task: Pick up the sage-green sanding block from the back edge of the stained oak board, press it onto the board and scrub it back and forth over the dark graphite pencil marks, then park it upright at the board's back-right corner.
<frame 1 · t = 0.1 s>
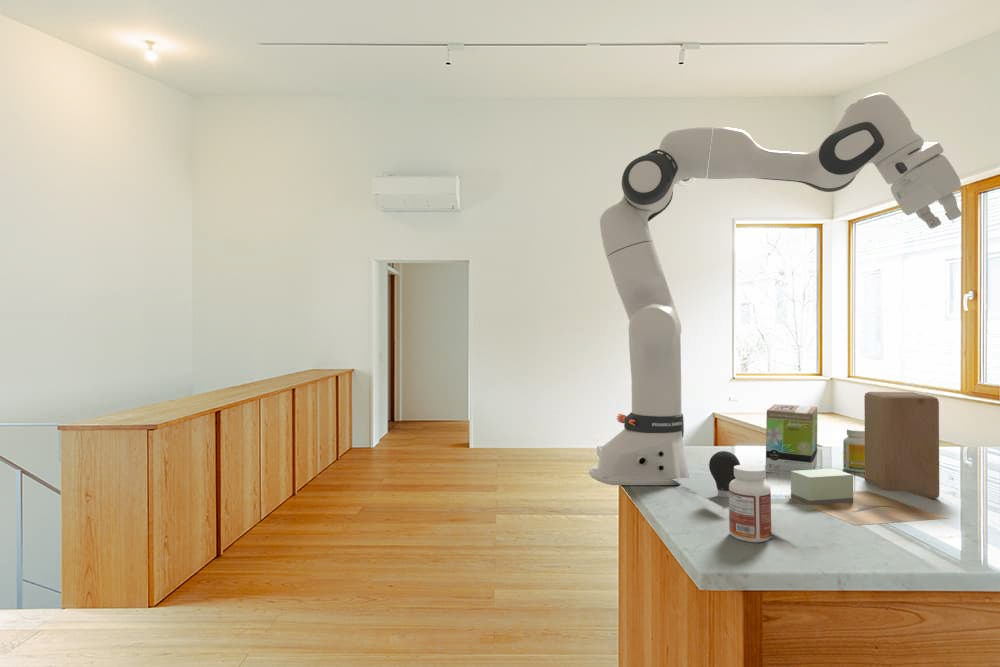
hand: (946, 222, 114), 54 cm above the table, tool tilted 30°, fingers open, 8 cm apart
oak board: (861, 514, 103), on the table
pill bottle: (750, 537, 92), on the table
supplement bottle: (856, 471, 136), on the table
light bulb: (724, 504, 110), on the table
wooden block: (900, 493, 117), on the table
tea box: (792, 470, 137), on the table
sanding block: (821, 499, 107), point 1 cm above the table, touching oak board
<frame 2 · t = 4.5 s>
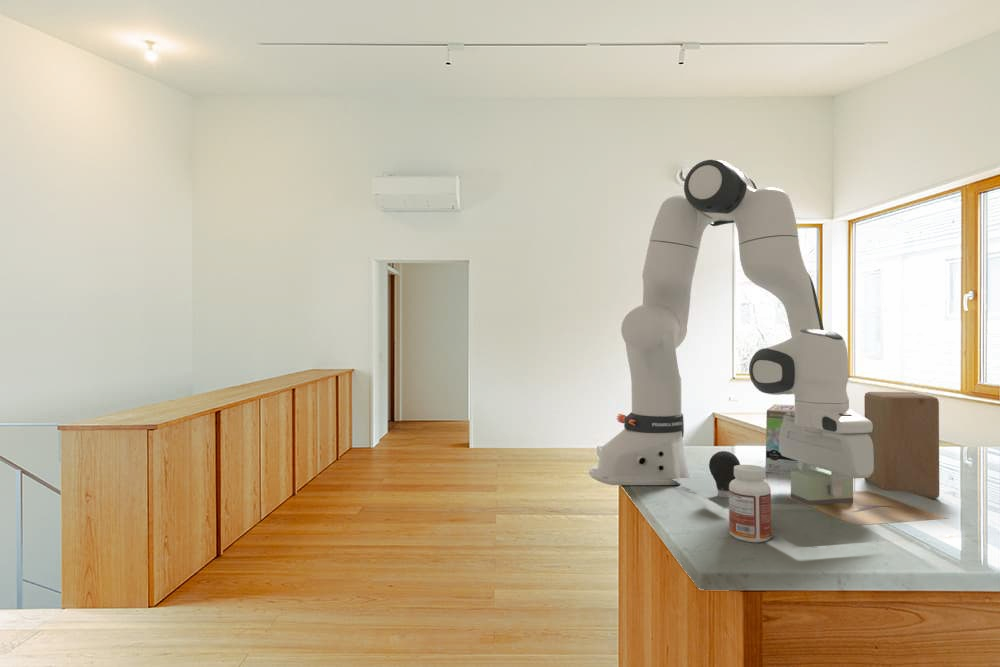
hand: (821, 490, 107), 3 cm above the table, tool pointing down, fingers closed on sanding block, 5 cm apart
sanding block: (821, 499, 107), point 1 cm above the table, touching gripper, oak board
everything else where it was.
when the fingers open (4 cm above the table, at t = 18.1 s): sanding block drops 1 cm, resting on oak board.
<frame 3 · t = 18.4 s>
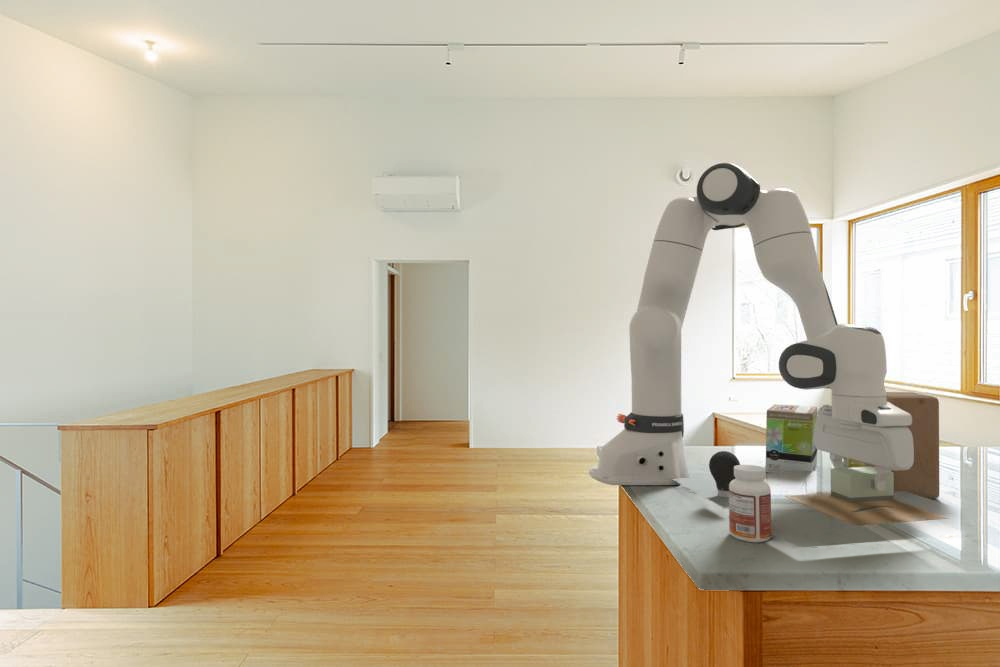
hand: (859, 483, 109), 4 cm above the table, tool pointing down, fingers open, 7 cm apart
sanding block: (861, 497, 109), point 1 cm above the table, touching oak board
everything else where it was.
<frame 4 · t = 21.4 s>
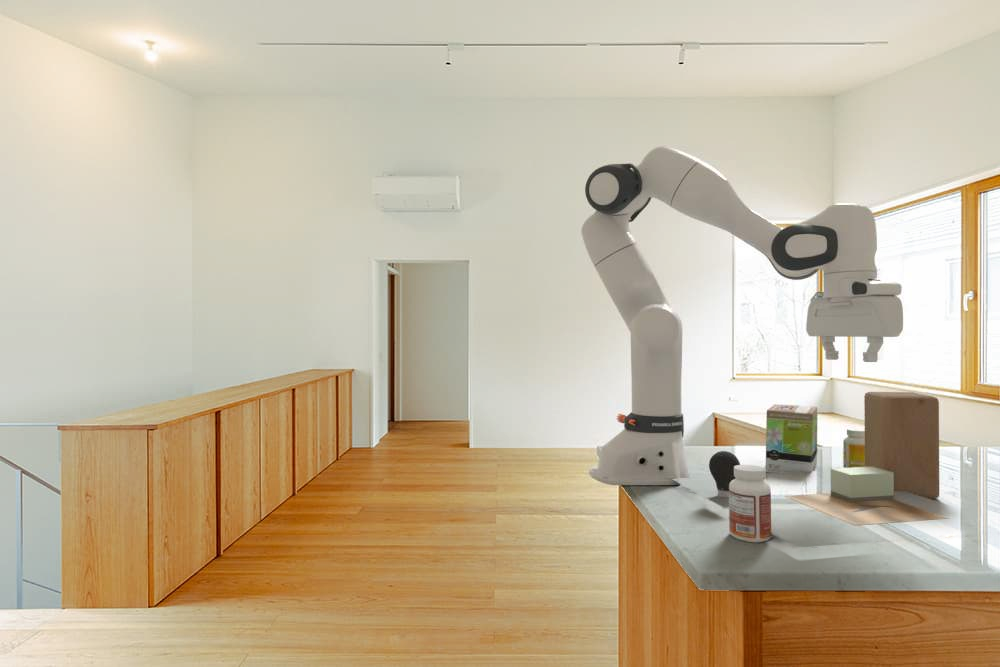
hand: (850, 360, 110), 27 cm above the table, tool pointing down, fingers open, 8 cm apart
nothing on the table moved.
at the end: sanding block 0.2 cm from the target spot on the oak board, point 1.5 cm above the oak board's base; sanding block tilted 0°; the gripper is holding nothing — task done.
